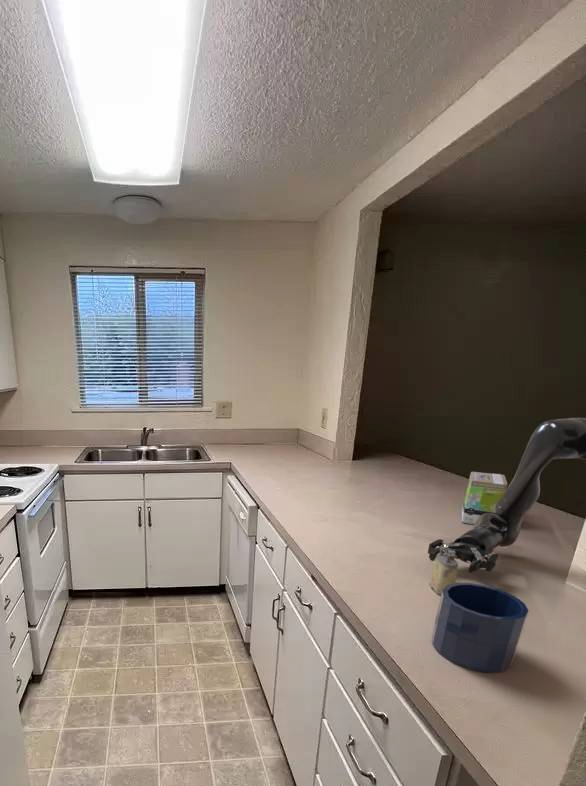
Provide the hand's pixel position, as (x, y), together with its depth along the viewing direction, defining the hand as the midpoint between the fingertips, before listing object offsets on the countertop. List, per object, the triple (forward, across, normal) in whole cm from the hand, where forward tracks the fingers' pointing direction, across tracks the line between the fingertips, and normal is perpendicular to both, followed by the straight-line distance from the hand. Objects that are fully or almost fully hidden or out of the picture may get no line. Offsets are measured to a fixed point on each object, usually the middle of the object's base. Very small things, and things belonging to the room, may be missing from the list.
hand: (450, 562), depth 104 cm
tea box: (-57, -11, +6) cm, 59 cm away
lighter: (+4, 0, +6) cm, 7 cm away
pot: (+24, +13, +6) cm, 28 cm away
